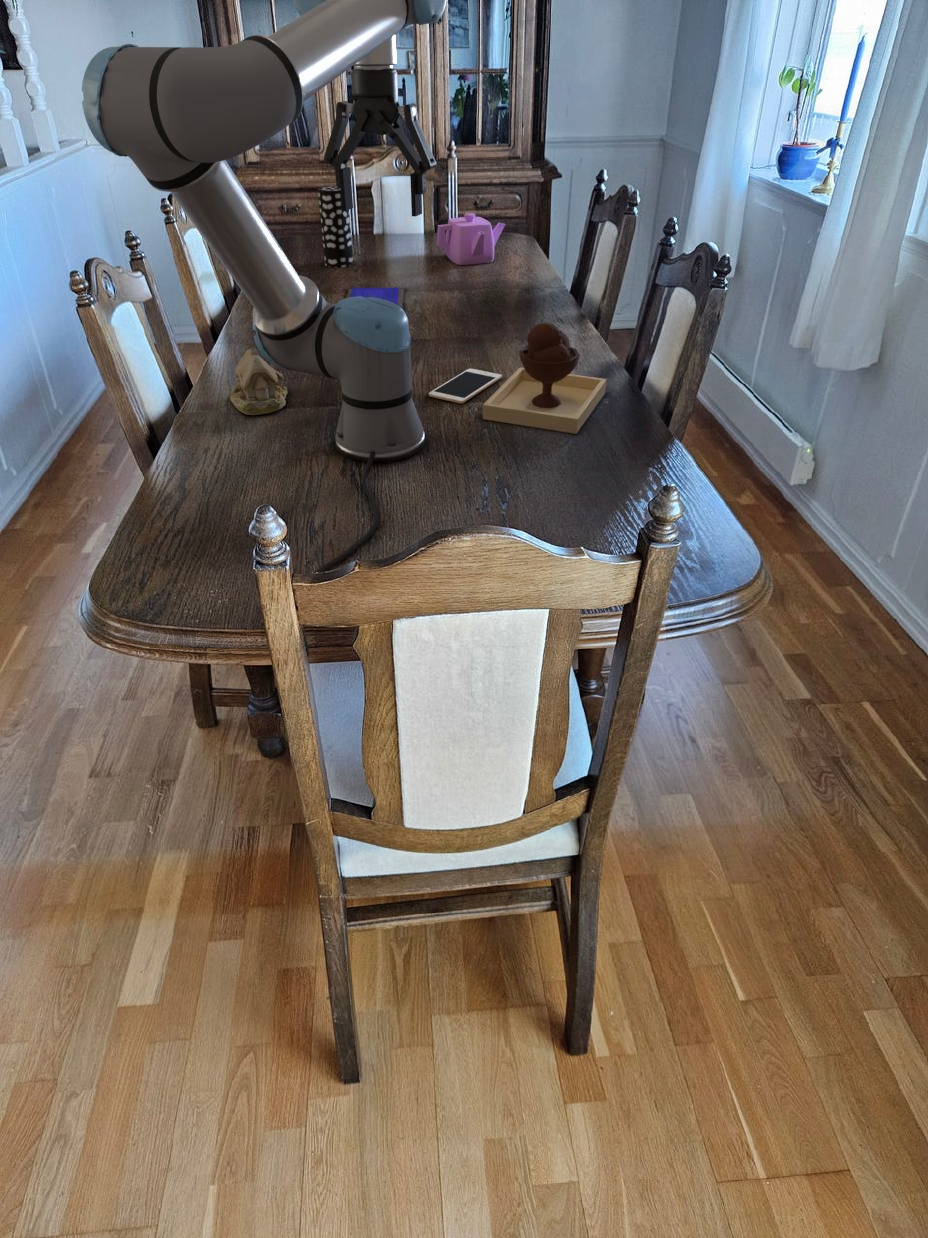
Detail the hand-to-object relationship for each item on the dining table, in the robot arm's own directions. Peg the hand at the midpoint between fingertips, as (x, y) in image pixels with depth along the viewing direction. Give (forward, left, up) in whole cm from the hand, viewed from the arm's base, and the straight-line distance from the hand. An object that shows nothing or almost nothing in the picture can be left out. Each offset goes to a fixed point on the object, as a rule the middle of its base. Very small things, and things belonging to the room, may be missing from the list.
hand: (381, 212), depth 146 cm
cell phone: (+5, -14, -32) cm, 35 cm away
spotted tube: (+82, +57, -32) cm, 105 cm away
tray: (+2, -32, -32) cm, 45 cm away
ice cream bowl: (+2, -32, -31) cm, 44 cm away
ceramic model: (-16, +20, -32) cm, 41 cm away
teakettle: (+102, +23, -32) cm, 109 cm away
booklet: (+49, +29, -32) cm, 65 cm away
